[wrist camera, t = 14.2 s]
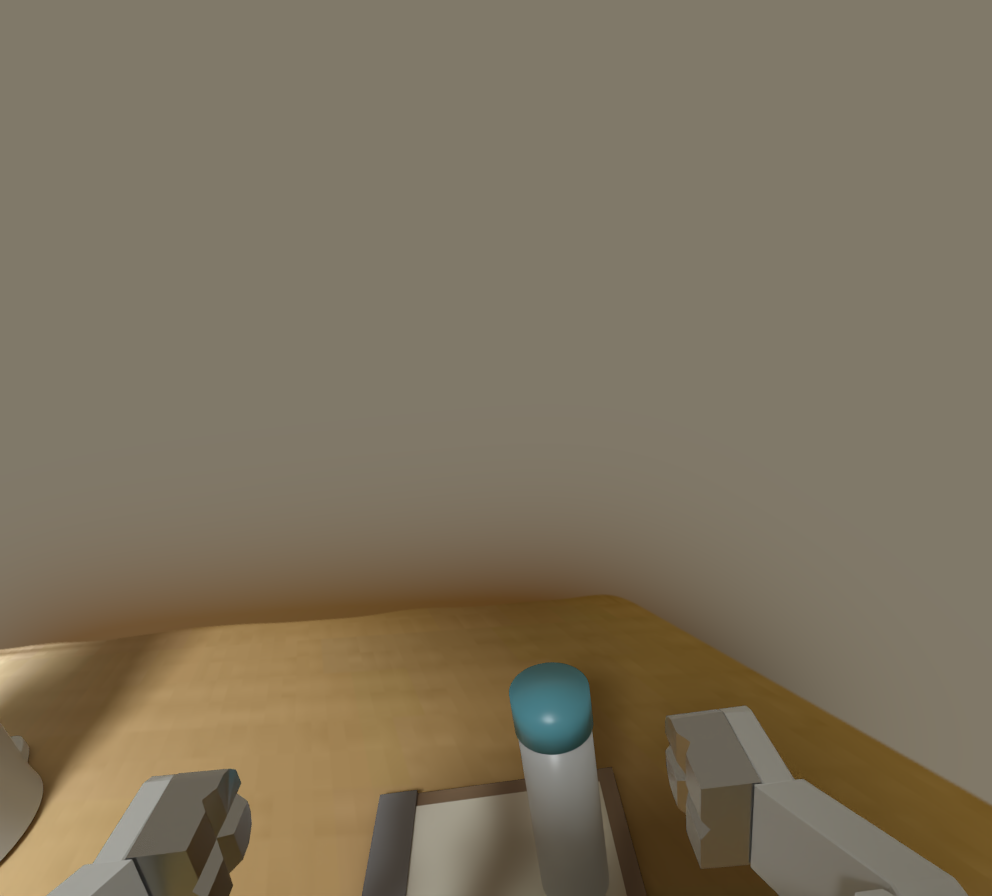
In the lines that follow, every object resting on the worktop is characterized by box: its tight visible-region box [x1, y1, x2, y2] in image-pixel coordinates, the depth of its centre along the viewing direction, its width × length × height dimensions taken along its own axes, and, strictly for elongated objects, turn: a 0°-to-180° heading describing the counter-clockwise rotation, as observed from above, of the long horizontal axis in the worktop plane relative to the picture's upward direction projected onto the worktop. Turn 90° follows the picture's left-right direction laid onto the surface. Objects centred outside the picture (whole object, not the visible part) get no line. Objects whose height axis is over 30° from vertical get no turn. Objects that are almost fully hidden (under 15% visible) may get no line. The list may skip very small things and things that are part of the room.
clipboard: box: [362, 767, 647, 896], centre depth 31 cm, size 15×11×1 cm
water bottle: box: [509, 662, 609, 896], centre depth 29 cm, size 4×4×12 cm
